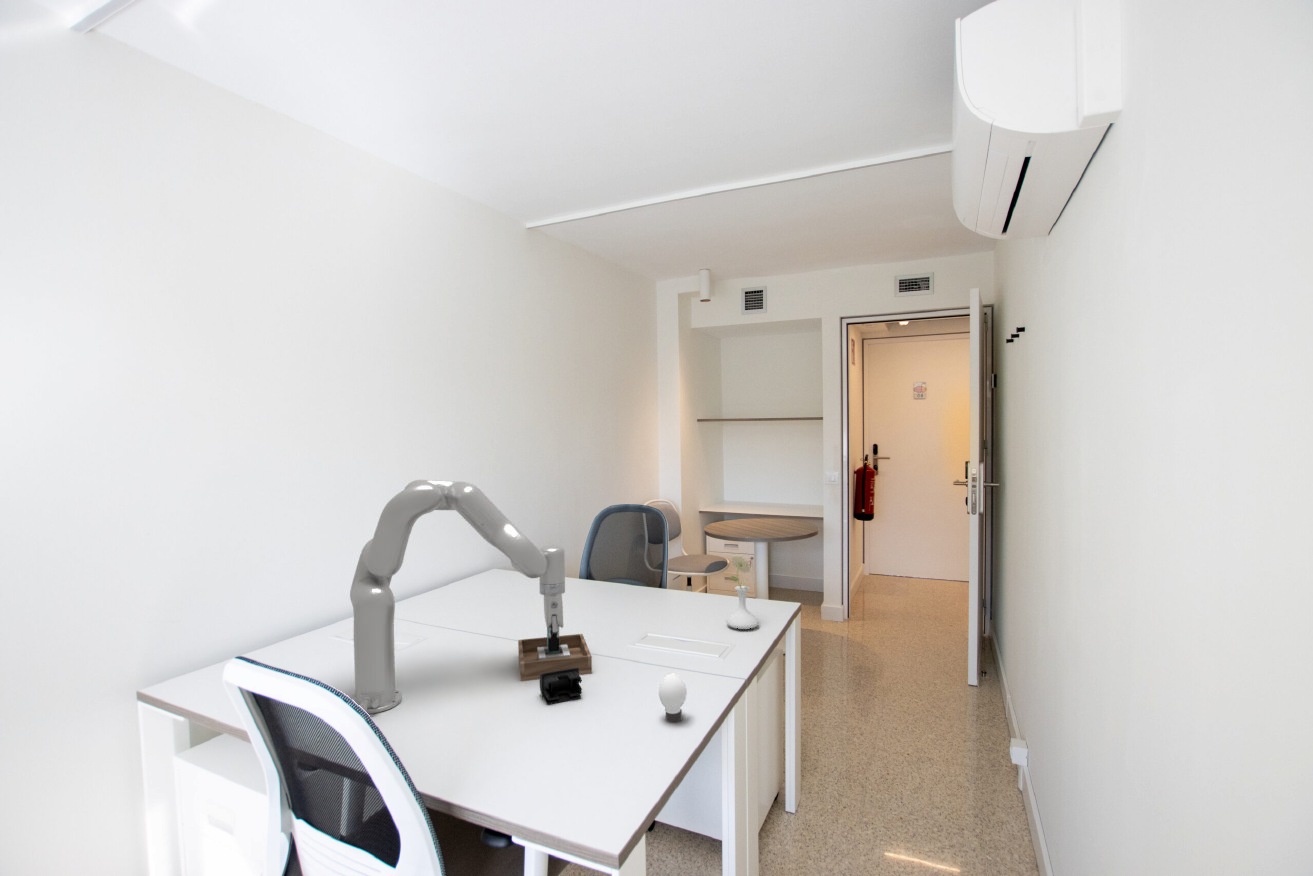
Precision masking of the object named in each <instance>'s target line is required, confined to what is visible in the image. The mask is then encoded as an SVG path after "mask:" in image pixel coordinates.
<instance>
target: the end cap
mask: <svg viewBox="0 0 1313 876" xmlns="http://www.w3.org/2000/svg"><path fill="white" fill-rule="evenodd" d="M582 680H583V679H582V677H581V675H579V668H577V667H576V668H570V669H564V670H558V671H552V672H546V673H541V675H540V679H539V690H540V695H541V696H542V698H543V699H544V702H545V703H546V705H547V706H551V705H556V704H563V703H567V702H572V701H578V700H582V695H581V694H582V690H583V688H582V687H581V685H580V684H581V683H582Z"/></svg>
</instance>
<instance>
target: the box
mask: <svg viewBox="0 0 1313 876" xmlns="http://www.w3.org/2000/svg"><path fill="white" fill-rule="evenodd" d="M517 646H518V647H517V648H518V652H517V653H518V664H519V665H518V666H519V676H520V682H527V681H534V680H535V681H536V680H540V675H541V673H546V672H552V671H558V670H564V669H570V668H576V667H577V668H579V675H580V676H581V675H590V674H592V673H593V671H592V669H593V668H592V666H593V665H592V659H593V658H592V654H591V651H590V650H589V649H590V648H589V647H588V644H587V642H586V639H585V636H584V634H583V633H577V634H567V635H566V634H565V635H559V649H560V654H551V655H547V636H546V637H545V636H544V637H536V638H535V637H533V638H526V639H525V638H524V639H518V641H517Z"/></svg>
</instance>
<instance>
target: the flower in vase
mask: <svg viewBox="0 0 1313 876" xmlns="http://www.w3.org/2000/svg"><path fill="white" fill-rule="evenodd" d="M730 560H731V563H732V565H733V566H734V567H735V569H736V570H737V571H736V574H735V575H736V576H734V575H731V577H730V580H732V581H734V582H736V583H738V585H737V586H735V587H734V589H735V590H736V592H737V595H738V601H739V602H738V609H736V610H735V611H734V612H733V613H732V614H731V615H729V616H728V617H727V618H726V621H725V623H726V624H727V626H729V627H731V628H734V629H737V628H738V630H750V628H751V629H755V628H756V627H758V625H759V624H760V621H759V619H758V618H757V617H756V616H755V615H754V614H753V613H751V612H750V611H749V610H748V609H747V607H746V606H747V605H746V604H747V603H746V599H747V593H748V592H749V590H750V587H749V586H745V585H741V584H744V583H745V582H747V580H748V578H747V579H745V580H742V581H741V582H740V581H739V577H738V573H739V571H740V572H742V573H748V572H751V564H750V563H749V560H748V559H746V557H743V555H739V554H734V555H732V556H731V558H730ZM748 581H749V580H748Z"/></svg>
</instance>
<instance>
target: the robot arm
mask: <svg viewBox="0 0 1313 876" xmlns="http://www.w3.org/2000/svg"><path fill="white" fill-rule="evenodd" d="M434 511H456V513H458V514H459V515H460V516H461V517H462V518H463V519H464V521H466V522H467V523H468V524H469V525H470V527H472V528H473V529H474V530H475V531H476V532H477V533H478V534H479V535H480V537H482V538H483V539H484V540H485V541H486V542H487V543H488V544H490V545H491V546H493V547H494V548H495V549H497V550H498V551H500V552H502V554H504V556H506V557H507V558H508V559H509V560H510V564H511V566H512V567H513V569H514V570H515V571H517V573H520V574H522V575H523V576H525V577H527V578H529V579H538V578H539V594H540V595H541V596H543V608H544V609H543V612H544V619H545V620H544V621H545V626H546V629H547V628H548V629H549V638H548V651H549V652H552V651H559V636H560V630H559V631H558V624H559V628H562V629H563V627H564V611H563V610H564V609H563V608H564V605H563V604H564V603H563V594H565V593H566V575H565V574H566V569H565V568H566V566H565V561H566V560H565V559H566V557H565V556H566V555H565V554H566V553H565V549H564V547H563V546H561V545H554V544H551V545H544V546H540V547H539V546H536V545H535V544H534V543H533V542H532V541H531V540H530V539H529V538H528V537H527V536H526V535H525V534H524V533H523V532H522V531H521V530H520V529H518V527H517V526H516V525H515V524H514V523H513V522H512V521H511V520H510V519H509V518H508V517H507V516H506V515H505V514H504V513H503V512H502V511H501V510H500V509H499V508H498V507H497V506H496V505H495V504H494V503H493V502H492V501H491V500H490V498H489V497H488V496H487V495H486V494H485V493H484V492H483V491H482V490H481V489H480V488H479V487H477V485H474V484H473V483H470V482H465V481H449V480H431V479H430V480H428V479H415V480H413V481H411V482H409V483H408V484H407V485H406V486H405V487H404V489H403V490H401V491H400V492H398V493H397V494H395V495H394V496H393V497H392V498H391V499H390V500H389V501H388V502H387V504H385V506H384V508H383V509H382V511H381V514H380V515H379V519H378V522H377V526H376V528H375V531H374V534H373V537H372V538H371V539H370V540H368V541H367V542H366V543H365V545H364V546H362V547H363V548H362V550H361V551H360V552H361V553H360V555H359V558H358V562H357V565H356V569H355V572H354V576H353V579H352V582H351V583H352V584H351V586H350V592H349V597H350V602H351V604H352V605H351V606H352V608H353V609H352V610H353V655H354V656H353V657H354V658H353V659H354V660H353V661H354V693H355V694H354V697H353V698H352V699H353V700H354V701H355V702H356V703H357V704H358V705H360V706H361V707H362V708H363V709H364V710H365V711H366V712H367V713H368V715H369V714H376V713H382V712H385V711H387V710H390V709H393V708H394V707H396V706H397V705H399V704H400V703H401V701H402V699H403V694H402V692H400V691H399V690H398V689H396V666H395V662H396V661H395V658H396V656H395V654H396V653H395V613H396V611H395V609H396V606H395V605H396V603H395V602H396V601H395V596H394V593H393V590H391V587H390V585H391V582H392V577H393V576H394V575H396V574H397V573H398V572H399V571H400V569H401V568H402V565H403V563H404V559H405V554H406V549H407V546H408V542H409V539H410V535H411V533H412V529H413V528H414V525H415V523H416V521H417V520H418V519H420V517H422V516H424V515H427V514H430V513H433V512H434ZM550 626H552V627H550ZM551 630H552V631H551Z"/></svg>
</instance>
